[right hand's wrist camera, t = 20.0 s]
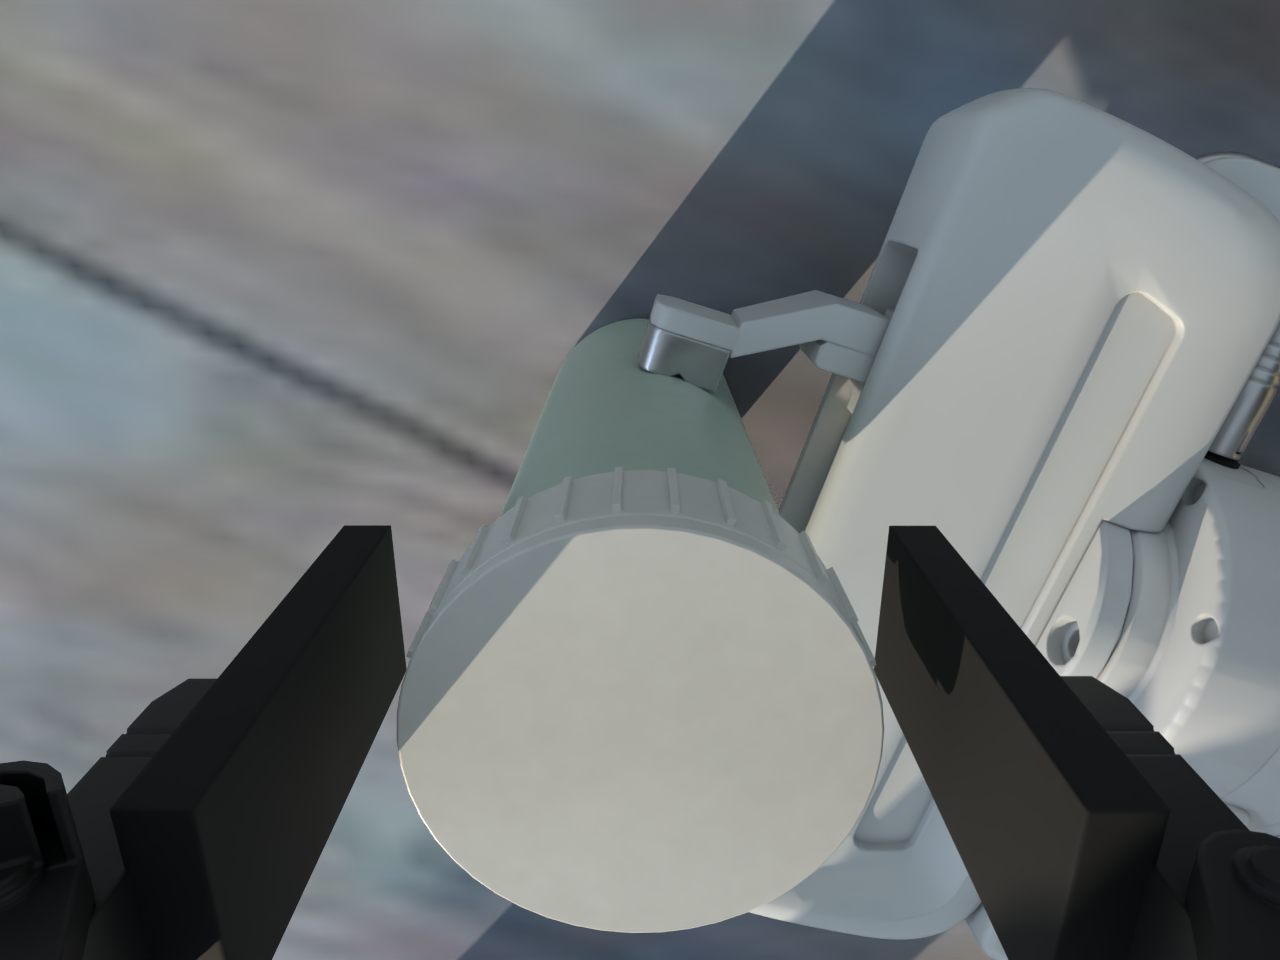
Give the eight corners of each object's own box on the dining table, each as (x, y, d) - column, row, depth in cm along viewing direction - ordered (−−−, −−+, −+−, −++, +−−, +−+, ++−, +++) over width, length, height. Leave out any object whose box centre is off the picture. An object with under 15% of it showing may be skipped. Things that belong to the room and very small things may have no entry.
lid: (344, 687, 12) (293, 776, 11) (609, 370, 11) (603, 410, 9) (665, 896, 14) (668, 1005, 12) (943, 641, 12) (995, 723, 10)
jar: (700, 507, 27) (768, 896, 12) (534, 465, 26) (408, 820, 12) (751, 344, 25) (899, 581, 11) (575, 297, 25) (484, 477, 10)
